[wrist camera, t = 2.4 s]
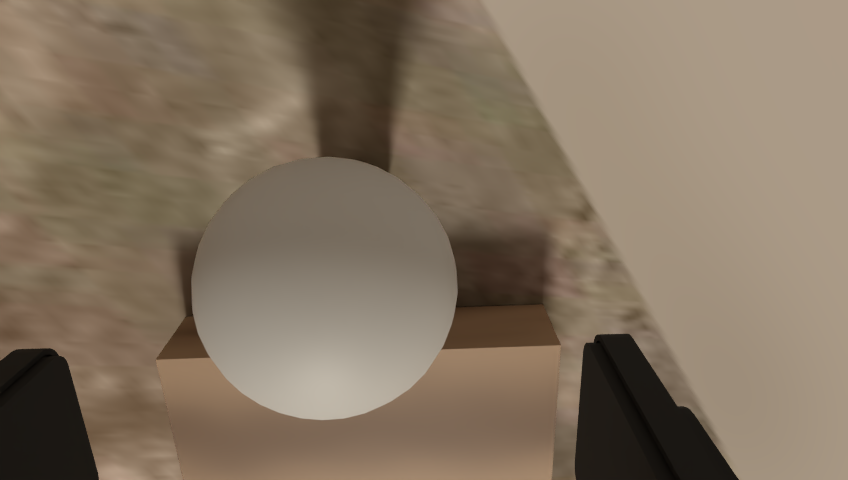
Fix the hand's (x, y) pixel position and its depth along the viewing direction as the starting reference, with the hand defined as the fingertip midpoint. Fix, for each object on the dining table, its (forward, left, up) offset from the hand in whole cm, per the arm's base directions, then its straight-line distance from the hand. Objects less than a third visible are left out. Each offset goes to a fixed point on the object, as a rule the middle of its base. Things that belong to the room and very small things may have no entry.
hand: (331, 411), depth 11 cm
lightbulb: (-1, 0, -12) cm, 12 cm away
